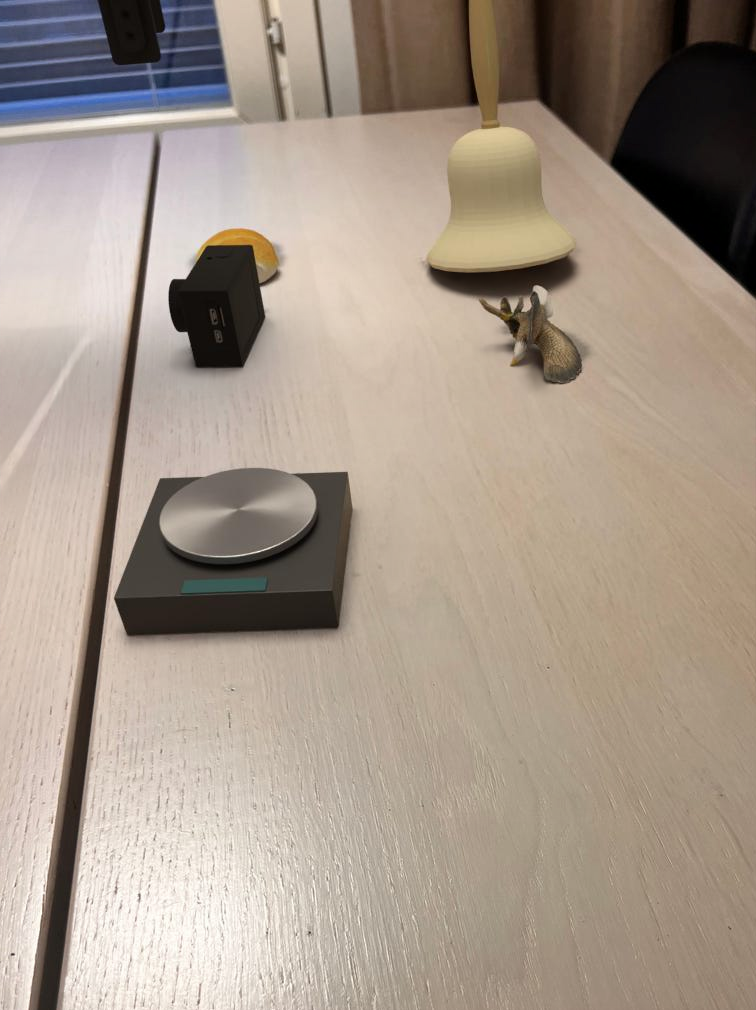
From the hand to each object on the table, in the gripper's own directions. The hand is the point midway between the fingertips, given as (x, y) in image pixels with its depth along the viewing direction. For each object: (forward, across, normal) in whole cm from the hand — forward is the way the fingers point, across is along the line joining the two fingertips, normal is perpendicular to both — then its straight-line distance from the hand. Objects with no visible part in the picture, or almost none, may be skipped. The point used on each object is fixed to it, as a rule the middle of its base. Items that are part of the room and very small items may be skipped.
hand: (141, 47), depth 71 cm
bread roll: (+25, -20, +3) cm, 32 cm away
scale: (+24, +30, +2) cm, 39 cm away
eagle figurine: (+25, +7, +28) cm, 38 cm away
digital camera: (+25, -4, +1) cm, 25 cm away
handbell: (+25, -14, +29) cm, 41 cm away
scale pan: (+21, +30, +2) cm, 37 cm away
